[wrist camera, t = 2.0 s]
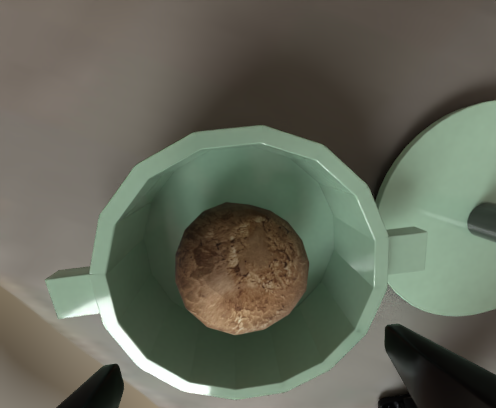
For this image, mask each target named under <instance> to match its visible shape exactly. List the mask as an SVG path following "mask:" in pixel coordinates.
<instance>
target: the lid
mask: <svg viewBox="0 0 496 408" xmlns="http://www.w3.org/2000/svg"><path fill="white" fill-rule="evenodd" d="M375 203H376V205H377V208H378V210H379V213H380V215H381V218H382V220H383V223H384V225H385V228H386V230H388V229H396V228H404V227H412V226H415V227H417V228H420V229H422V230H425V231H427V232H428V235H427V247H426V260H425V270H422V271H415V272H407V273H400V274H392V275H388V285H389V286H390V288H391V289H392V290H393V291H394V292H396V293H397V294H398V295H399V296H400V297H401V298H402V299H404V300H405V301H406V302H408V303H409V304H411V305H412V306H414V307H417V308H419V309H421V310H423V311H426V312H429V313H432V314H437V315H443V316H468V315H474V314H479V313H484V312H487V311H490V310H493V309H496V100H492V101H487V102H481V103H476V104H473V105H470V106H467V107H463V108H460V109H458V110H456V111H454V112H452V113H450V114H447V115H445V116H444V117H442V118H441V119H439V120H437V121H436V122H434V123H433V124H431V125H430V126H428V127H427V128H426V129H425V130H423V131H422V132H421V133H420V134H418V135H417V136H416V137H415V138H414V139H413V140H412V141H411V142H410V143H409V144H408V145H407V146H406V147H405V148H404V150H403V151H402V152H401V153H400V155H399V156H398V157H397V158H396V160H395V161H394V163H393V164H392V166H391V168H390V169H389V171H388V172H387V174H386V176H385V178H384V180H383V182H382V184H381V186H380V189H379V192H378V194H377V197H376V200H375Z"/></svg>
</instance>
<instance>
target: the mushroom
mask: <svg viewBox="0 0 496 408" xmlns="http://www.w3.org/2000/svg"><path fill="white" fill-rule="evenodd" d="M308 271H309V260H308V257H307V254H306V251H305V247H304V244H303V241H302V239H301V238H300V237H299V235H298V234H297V233H296V232H295V230H294V229H293V228H292V226H291V225H290V224H289V222H287V221H286V220H284V219H283V218H281V217H280V216H278V215H277V214H275V213H273V212H272V211H270V210H267V209H264V208H260V207H257V206H253V205H249V204H240V203H231V202H225V203H223V204H220V205H218V206H215V207H212V208H210V209H207V210H205V211H203V212H202V213H201V214H200V215H199V216H198V217H197V218H196V219H195V220H194V221H193V222H192V223H191V224H190V225H189V226H188V227H187V228H186V229H185V231H184V233H183V236H182V238H181V241H180V244H179V246H178V249H177V251H176V254H175V283H176V285H177V288H178V290H179V293H180V295H181V298H182V300H183V303H184V305H185V308H186V309H187V310H188V311H190V312H191V313H192V314H193V315H194V316H195V317H196V318H197V319H198V320H200V321H201V322H202V323H203V324H204V325H205V326H206V327H208V328H212V329H215V330H219V331H222V332H226V333H229V334H233V335H239V334H244V333H249V332H254V331H259V330H264V329H266V328H268V327H269V326H271V325H273V324H274V323H276V322H277V321H279V320H281V319H282V318H284V317H286V316H287V315H289V314H290V313H291V311H292V310H293V308H294V307H295V306H296V304H297V303H298V301H299V300H300V299H301V297H302V296H303V294H304V293H305V292H306V289H307V280H308Z"/></svg>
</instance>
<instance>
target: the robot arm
mask: <svg viewBox="0 0 496 408" xmlns="http://www.w3.org/2000/svg"><path fill="white" fill-rule="evenodd" d="M385 349H386V352H387V354H388V356H389V358H390V359H391V361H392V363H393V365H394V366H395V368H396V370H397V372H398V374H399V375H400V377H401V379H402V381H403V382H404V384H405V386H406V388H407V390H408V391H409V393H410V394H408V395H401V396H395V397H389V398H383V399H381V400H380V401H379V402H378V408H496V375H495V374H493V373H491V372H489V371H487V370H485V369H484V368H482V367H480V366H478V365H476V364H474V363H472V362H470V361H468V360H466V359H465V358H463V357H461V356H459V355H457V354H455V353H453V352H451V351H449V350H448V349H446V348H444V347H442V346H440V345H438V344H436V343H434V342H432V341H430V340H429V339H427V338H425V337H423V336H421V335H419V334H417V333H415V332H413V331H412V330H410V329H408V328H406V327H404V326H402V325H400V324H391V325H387V326H386V327H385ZM123 390H124V382H123V379H122V375H121V372H120V368H119V365H118V364H110V365H105V366H103V367H102V368H100V369H99V370H98V371H97V372H96V373H95V374H93V375H92V376H91V377H90V378H89V379H88V380H87V381H86V382H84V383H83V384H82V385H81V386H80V387H79V388H78V389H77V390H76V391H74V392H73V393H72V394H71V395H70V396H69V397H68V398H67V399H65V400H64V401H63V402H62V403H61V404H60V405H59V406H58V407H56V408H118V407H119V404H120V401H121V397H122V394H123Z"/></svg>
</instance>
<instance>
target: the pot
mask: <svg viewBox="0 0 496 408" xmlns="http://www.w3.org/2000/svg"><path fill="white" fill-rule="evenodd" d="M225 202H231V203H240V204H249V205H253V206H257V207H260V208H264V209H267V210H270V211H272V212H273V213H275V214H277V215H278V216H280V217H281V218H283V219H284V220H286V221H287V222H289V224H290V225H291V226H292V228H293V229H294V230H295V232H296V233H297V234H298V235H299V237H300V238H301V239H302V241H303V244H304V247H305V251H306V254H307V257H308V260H309V271H308V280H307V289H306V292H305V293H304V294H303V296H302V297H301V299H300V300H299V301H298V303H297V304H296V306H295V307H294V308H293V310H292V311H291V313H290V314H289V315H287V316H286V317H284V318H282V319H281V320H279V321H277V322H276V323H274V324H273V325H271V326H269V327H268V328H266V329H264V330H259V331H254V332H249V333H244V334H239V335H233V334H229V333H226V332H222V331H219V330H215V329H212V328H208V327H206V326H205V325H204V324H203V323H202V322H201V321H200V320H198V319H197V318H196V317H195V316H194V315H193V314H192V313H191V312H190V311H188V310H187V309H186V308H185V305H184V303H183V300H182V298H181V295H180V293H179V290H178V288H177V285H176V283H175V254H176V251H177V249H178V246H179V244H180V241H181V238H182V236H183V233H184V231H185V229H186V228H187V227H188V226H189V225H190V224H191V223H192V222H193V221H194V220H195V219H196V218H197V217H198V216H199V215H200V214H201V213H202V212H203V211H205V210H207V209H210V208H212V207H215V206H218V205H220V204H223V203H225ZM427 235H428V232H427V231H425V230H422V229H420V228H417V227H415V226H412V227H404V228H396V229H388V230H386V228H385V225H384V223H383V220H382V218H381V215H380V213H379V210H378V208H377V205H376V203H375V201H374V198H373V196H372V193H371V191H370V188H369V187H368V185H367V184H366V183H365V182H364V181H363V180H362V179H361V178H360V177H359V176H358V175H356V174H355V173H354V172H353V171H352V170H351V169H350V168H349V167H348V166H347V165H346V164H345V163H343V162H342V161H341V160H340V159H339V158H338V157H337V156H336V155H335V154H334V153H333V152H331V151H330V150H329V149H328V148H327V147H326V146H324V145H323V144H320V143H317V142H314V141H311V140H308V139H305V138H302V137H299V136H296V135H293V134H290V133H287V132H283V131H280V130H277V129H274V128H271V127H268V126H265V125H254V126H244V127H234V128H224V129H214V130H205V131H196V132H193V133H191V134H189V135H187V136H186V137H184V138H182V139H180V140H178V141H177V142H175V143H173V144H171V145H170V146H168V147H166V148H164V149H163V150H161V151H159V152H157V153H156V154H154V155H152V156H150V157H148V158H147V159H145V160H143V161H141V162H140V163H138V164H136V165H135V166H134V168H133V169H132V170H131V172H130V173H129V175H128V176H127V177H126V179H125V180H124V182H123V183H122V184H121V186H120V187H119V189H118V190H117V191H116V193H115V194H114V196H113V197H112V198H111V200H110V201H109V202H108V204H107V205H106V207H105V208H104V209H103V211H102V212H101V214H100V215H99V219H98V224H97V230H96V236H95V242H94V248H93V254H92V259H91V265H90V266H89V267H81V268H73V269H65V270H58V271H57V272H55V273H54V274H53V275H51V276H50V277H48V278H47V279H45V282H46V285H47V288H48V291H49V294H50V296H51V299H52V302H53V305H54V308H55V311H56V314H57V317H58V319H63V318H70V317H78V316H85V315H93V314H100V316H101V319H102V323H103V326H104V327H105V329H106V330H107V331H108V332H109V333H110V335H111V336H112V337H113V338H114V339H115V341H116V342H117V343H118V344H119V345H120V346H121V348H122V349H123V350H124V351H125V352H126V354H127V355H128V356H129V357H130V358H131V359H132V361H133V362H134V363H135V364H136V365H137V366H138V368H140V369H142V370H144V371H146V372H147V373H149V374H151V375H153V376H155V377H157V378H159V379H160V380H162V381H164V382H166V383H168V384H170V385H172V386H173V387H175V388H177V389H179V390H181V391H183V392H188V393H194V394H200V395H207V396H213V397H219V398H225V399H231V400H234V399H235V400H239V399H245V398H252V397H258V396H265V395H271V394H278V393H284V392H287V391H289V390H291V389H293V388H295V387H297V386H299V385H301V384H303V383H305V382H307V381H309V380H311V379H313V378H315V377H317V376H319V375H321V374H323V373H325V372H327V371H329V370H330V369H332V368H333V367H334V366H335V365H336V364H337V363H338V362H339V361H340V360H341V359H342V358H343V357H344V356H345V355H346V354H347V353H348V352H349V351H350V350H351V349H352V348H353V347H354V346H355V345H356V344H357V343H358V342H359V341H360V340H361V339H362V338H363V337H364V336H365V334H367V332H368V329H369V327H370V325H371V323H372V321H373V319H374V317H375V314H376V312H377V310H378V308H379V306H380V304H381V301H382V299H383V297H384V295H385V293H386V291H387V284H388V275H392V274H400V273H407V272H415V271H422V270H425V260H426V247H427Z"/></svg>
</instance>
